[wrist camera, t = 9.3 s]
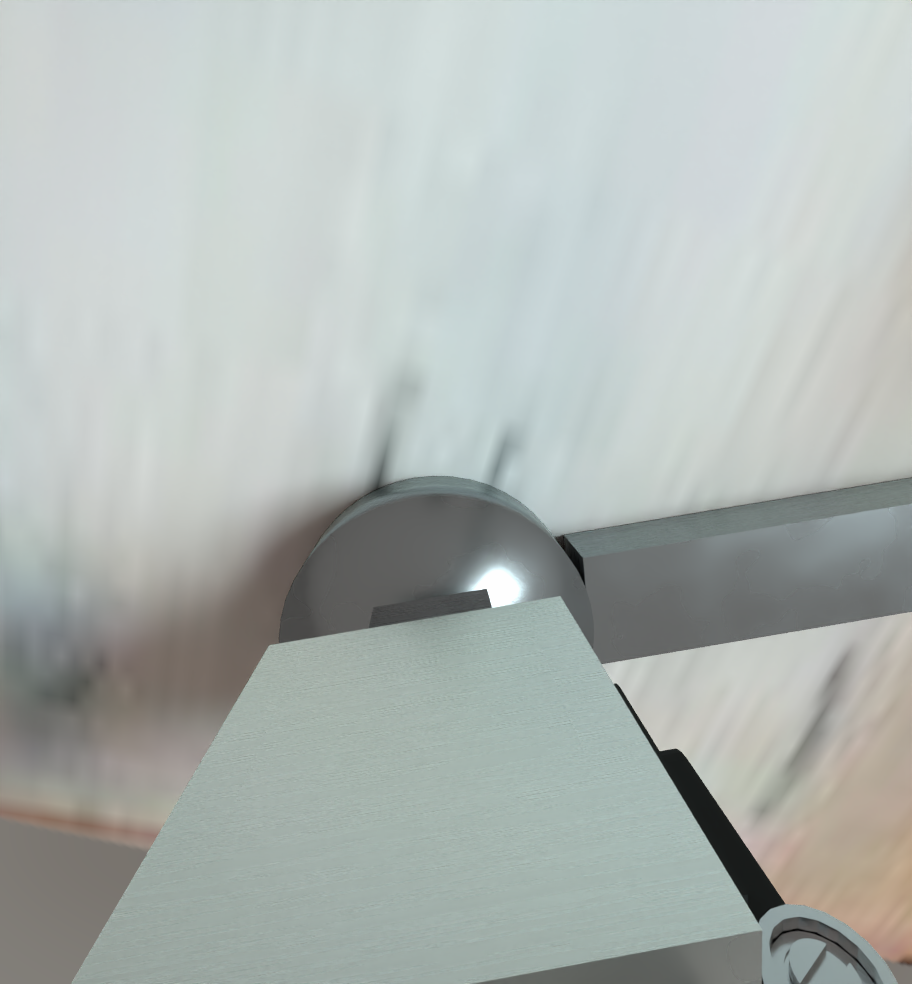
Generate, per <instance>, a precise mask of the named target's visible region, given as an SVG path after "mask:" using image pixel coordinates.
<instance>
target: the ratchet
mask: <svg viewBox="0 0 912 984" xmlns="http://www.w3.org/2000/svg"><path fill="white" fill-rule="evenodd" d="M564 542H565V552H566V553H565V552H564V550H563V549H562V548H561V546H560V545H559V544H558V542H557V541H556V540H555V538H554V537H553V536H552V534H551V533H550V532H549V530H548V529H547V528H546V526H545V525H544V524H543V523H542V522H541V521H540V520H539V519H538V517H537V516H536V515H535V514H534V513H533V512H532V511H530V510H529V509H528V508H527V507H526V506H524V505H523V504H522V503H521V502H520V501H518V500H516V499H515V498H513V497H512V496H510V495H508V494H507V493H505V492H503V491H501V490H499V489H496V488H494V487H492V486H490V485H487V484H484V483H480V482H477V481H474V480H470V479H464V478H458V477H448V476H429V477H418V478H412V479H408V480H403V481H399V482H395V483H393V484H390V485H387V486H384V487H382V488H379V489H377V490H375V491H373V492H371V493H370V494H368V495H366V496H364V497H362V498H361V499H359V500H358V501H356V502H355V503H354V504H352V505H351V506H349V507H348V508H347V509H346V510H345V511H344V512H343V513H342V514H340V515H339V516H338V517H337V518H336V519H335V520H334V521H333V523H332V524H331V525H330V526H329V528H328V529H327V530H326V531H325V532H324V534H323V535H322V537H321V538H320V540H319V541H318V543H317V544H316V546H315V548H314V549H313V551H312V552H311V554H310V555H309V557H308V558H307V560H306V561H305V563H304V564H303V566H302V568H301V569H300V571H299V573H298V574H297V576H296V578H295V579H294V581H293V583H292V586H291V588H290V590H289V593H288V595H287V598H286V600H285V604H284V608H283V612H282V616H281V622H280V632H279V643H285V642H291V641H297V640H303V639H309V638H315V637H321V636H327V635H333V634H339V633H345V632H350V631H356V630H362V629H368V628H374V627H380V626H386V625H392V624H398V623H404V622H410V621H416V620H422V619H427V618H433V617H439V616H445V615H451V614H457V613H463V612H469V611H475V610H481V609H487V608H493V607H499V606H504V605H510V604H516V603H522V602H528V601H534V600H540V599H546V598H552V597H558V596H561V598H562V600H563V601H564V603H565V605H566V606H567V608H568V610H569V611H570V613H571V614H572V616H573V618H574V619H575V621H576V623H577V624H578V626H579V628H580V629H581V631H582V633H583V634H584V636H585V638H586V639H587V641H588V643H589V644H590V646H591V648H592V649H593V651H594V653H595V654H596V656H597V657H598V659H599V661H600V662H601V664H605V663H611V662H617V661H623V660H629V659H635V658H640V657H646V656H652V655H658V654H664V653H670V652H676V651H682V650H688V649H694V648H700V647H705V646H711V645H717V644H723V643H729V642H735V641H741V640H747V639H753V638H759V637H765V636H770V635H776V634H782V633H788V632H794V631H800V630H806V629H812V628H818V627H824V626H830V625H835V624H841V623H847V622H853V621H859V620H865V619H871V618H877V617H883V616H889V615H895V614H900V613H906V612H912V478H907V479H901V480H895V481H889V482H883V483H877V484H871V485H864V486H858V487H852V488H846V489H840V490H834V491H828V492H822V493H816V494H810V495H804V496H797V497H791V498H785V499H779V500H773V501H767V502H761V503H755V504H749V505H743V506H737V507H731V508H724V509H718V510H712V511H706V512H700V513H694V514H688V515H682V516H676V517H670V518H664V519H658V520H651V521H645V522H639V523H633V524H627V525H621V526H615V527H609V528H603V529H597V530H591V531H585V532H578V533H572V534H566V535H564Z"/></svg>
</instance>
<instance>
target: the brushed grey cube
mask: <svg viewBox="0 0 912 984" xmlns="http://www.w3.org/2000/svg"><path fill="white" fill-rule="evenodd" d="M71 984H762V929H761V927H760V925H759V924H758V922H757V920H756V919H755V917H754V915H753V914H752V912H751V910H750V909H749V907H748V905H747V904H746V902H745V901H744V899H743V897H742V896H741V894H740V892H739V891H738V889H737V887H736V886H735V884H734V882H733V881H732V879H731V877H730V876H729V874H728V872H727V871H726V869H725V867H724V866H723V864H722V862H721V861H720V859H719V858H718V856H717V854H716V853H715V851H714V849H713V848H712V846H711V844H710V843H709V841H708V839H707V838H706V836H705V834H704V833H703V831H702V829H701V828H700V826H699V824H698V823H697V821H696V820H695V818H694V816H693V815H692V813H691V811H690V810H689V808H688V806H687V805H686V803H685V801H684V800H683V798H682V796H681V795H680V793H679V791H678V790H677V788H676V786H675V785H674V783H673V781H672V780H671V778H670V777H669V775H668V773H667V772H666V770H665V768H664V767H663V765H662V763H661V762H660V760H659V758H658V757H657V755H656V753H655V752H654V750H653V748H652V747H651V745H650V743H649V742H648V740H647V738H646V737H645V735H644V734H643V732H642V730H641V729H640V727H639V725H638V724H637V722H636V720H635V719H634V717H633V715H632V714H631V712H630V710H629V709H628V707H627V705H626V704H625V702H624V700H623V699H622V697H621V695H620V694H619V692H618V691H617V689H616V687H615V686H614V684H613V682H612V681H611V679H610V677H609V676H608V674H607V672H606V671H605V669H604V667H603V666H602V664H601V662H600V661H599V659H598V657H597V656H596V654H595V653H594V651H593V649H592V648H591V646H590V644H589V643H588V641H587V639H586V638H585V636H584V634H583V633H582V631H581V629H580V628H579V626H578V624H577V623H576V621H575V619H574V618H573V616H572V614H571V613H570V611H569V610H568V608H567V606H566V605H565V603H564V601H563V600H562V598H561V596H558V597H552V598H546V599H540V600H534V601H528V602H522V603H516V604H510V605H504V606H499V607H493V608H487V609H481V610H475V611H469V612H463V613H457V614H451V615H445V616H439V617H433V618H427V619H422V620H416V621H410V622H404V623H398V624H392V625H386V626H380V627H374V628H368V629H362V630H356V631H350V632H345V633H339V634H333V635H327V636H321V637H315V638H309V639H303V640H297V641H291V642H285V643H279V644H273V645H269V646H268V648H267V650H266V651H265V653H264V655H263V657H262V658H261V660H260V662H259V663H258V665H257V667H256V669H255V670H254V672H253V674H252V675H251V677H250V679H249V680H248V682H247V684H246V686H245V687H244V689H243V691H242V692H241V694H240V696H239V698H238V699H237V701H236V703H235V704H234V706H233V708H232V710H231V711H230V713H229V715H228V716H227V718H226V720H225V722H224V723H223V725H222V727H221V728H220V730H219V732H218V734H217V735H216V737H215V739H214V740H213V742H212V744H211V745H210V747H209V749H208V751H207V752H206V754H205V756H204V757H203V759H202V761H201V763H200V764H199V766H198V768H197V769H196V771H195V773H194V775H193V776H192V778H191V780H190V781H189V783H188V785H187V787H186V788H185V790H184V792H183V793H182V795H181V797H180V799H179V800H178V802H177V804H176V805H175V807H174V809H173V810H172V812H171V814H170V816H169V817H168V819H167V821H166V822H165V824H164V826H163V828H162V829H161V831H160V833H159V834H158V836H157V838H156V840H155V841H154V843H153V845H152V846H151V848H150V850H149V852H148V853H147V855H146V857H145V858H144V860H143V862H142V863H141V865H140V867H139V869H138V870H137V872H136V874H135V876H134V877H133V879H132V881H131V882H130V884H129V886H128V887H127V889H126V891H125V893H124V894H123V896H122V898H121V899H120V901H119V903H118V905H117V906H116V908H115V910H114V911H113V913H112V915H111V917H110V918H109V920H108V922H107V923H106V925H105V927H104V928H103V930H102V932H101V934H100V935H99V937H98V939H97V941H96V942H95V944H94V946H93V948H92V949H91V951H90V952H89V954H88V956H87V958H86V959H85V961H84V963H83V965H82V966H81V968H80V970H79V971H78V973H77V975H76V976H75V978H74V980H73V982H72V983H71Z"/></svg>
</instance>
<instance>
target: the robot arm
mask: <svg viewBox="0 0 912 984" xmlns="http://www.w3.org/2000/svg"><path fill="white" fill-rule="evenodd" d="M614 686H615V687H616V689H617V691H618V692H619V694H620V695H621V697H622V699H623V700H624V702H625V704H626V705H627V707H628V709H629V710H630V712H631V714H632V715H633V717H634V719H635V720H636V722H637V724H638V725H639V727H640V729H641V730H642V732H643V734H644V735H645V737H646V738H647V740H648V742H649V743H650V745H651V747H652V748H653V750H654V752H655V753H656V755H657V757H658V758H659V760H660V762H661V763H662V765H663V767H664V768H665V770H666V772H667V773H668V775H669V777H670V778H671V780H672V781H673V783H674V785H675V786H676V788H677V790H678V791H679V793H680V795H681V796H682V798H683V800H684V801H685V803H686V805H687V806H688V808H689V810H690V811H691V813H692V815H693V816H694V818H695V820H696V821H697V823H698V824H699V826H700V828H701V829H702V831H703V833H704V834H705V836H706V838H707V839H708V841H709V843H710V844H711V846H712V848H713V849H714V851H715V853H716V854H717V856H718V858H719V859H720V861H721V862H722V864H723V866H724V867H725V869H726V871H727V872H728V874H729V876H730V877H731V879H732V881H733V882H734V884H735V886H736V887H737V889H738V891H739V892H740V894H741V896H742V897H743V899H744V901H745V902H746V904H747V905H748V907H749V909H750V910H751V912H752V914H753V915H754V917H755V919H756V920H757V922H758V924H759V925H760V927H761V929H762V984H898V983H897V981H896V979H895V977H894V976H893V974H892V972H891V971H890V969H889V967H888V965H887V964H886V962H885V961H884V960H883V959H882V958H881V957H880V955H879V954H878V953H877V952H876V951H875V950H874V949H873V947H872V946H871V945H870V944H869V943H868V942H867V941H866V940H865V939H864V938H862V937H861V936H860V935H859V934H857V933H856V932H855V931H854V930H853V929H851V928H850V927H849V926H848V925H846V924H845V923H843V922H841V921H839V920H838V919H836V918H834V917H832V916H831V915H829V914H827V913H825V912H823V911H820V910H817V909H813V908H810V907H807V906H804V905H789V904H785V903H784V901H783V900H782V898H781V897H780V895H779V894H778V892H777V891H776V889H775V888H774V886H773V885H772V884H771V882H770V881H769V879H768V878H767V876H766V875H765V873H764V872H763V870H762V869H761V867H760V866H759V864H758V863H757V861H756V860H755V858H754V857H753V856H752V854H751V853H750V851H749V850H748V848H747V847H746V845H745V844H744V842H743V841H742V839H741V838H740V836H739V835H738V833H737V832H736V830H735V829H734V827H733V826H732V825H731V823H730V822H729V820H728V819H727V817H726V816H725V814H724V813H723V811H722V810H721V808H720V807H719V805H718V804H717V802H716V801H715V799H714V798H713V796H712V795H711V794H710V792H709V791H708V789H707V788H706V786H705V785H704V783H703V782H702V780H701V779H700V777H699V776H698V774H697V773H696V771H695V770H694V768H693V767H692V766H691V764H690V763H689V761H688V760H687V758H686V757H685V756H684V755H683V753H682V752H681V751H679V750H678V749H671V750H665V751H659V750H658V748H657V746H656V745H655V743H654V742H653V740H652V738H651V737H650V735H649V734H648V732H647V730H646V729H645V727H644V725H643V724H642V722H641V721H640V719H639V717H638V716H637V714H636V713H635V711H634V709H633V708H632V706H631V704H630V703H629V701H628V700H627V698H626V696H625V695H624V693H623V691H622V690H621V688H620V687H619V686H618V685H617V684H614Z"/></svg>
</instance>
